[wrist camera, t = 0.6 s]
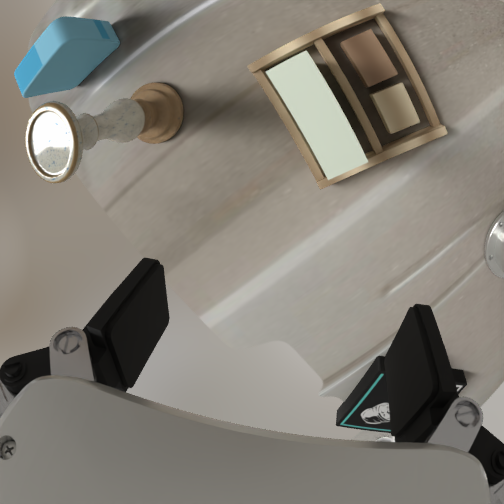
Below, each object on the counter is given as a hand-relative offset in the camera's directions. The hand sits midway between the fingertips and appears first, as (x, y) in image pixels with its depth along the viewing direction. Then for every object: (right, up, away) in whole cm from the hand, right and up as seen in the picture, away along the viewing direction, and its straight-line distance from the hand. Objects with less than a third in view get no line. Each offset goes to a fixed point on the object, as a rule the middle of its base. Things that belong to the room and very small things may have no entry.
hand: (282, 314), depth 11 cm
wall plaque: (+30, -28, +45) cm, 61 cm away
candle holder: (-14, +22, +27) cm, 38 cm away
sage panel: (+7, +20, +23) cm, 31 cm away
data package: (-25, +32, +24) cm, 47 cm away
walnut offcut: (+12, +25, +19) cm, 34 cm away
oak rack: (+11, +21, +21) cm, 32 cm away
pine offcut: (+16, +20, +21) cm, 33 cm away
